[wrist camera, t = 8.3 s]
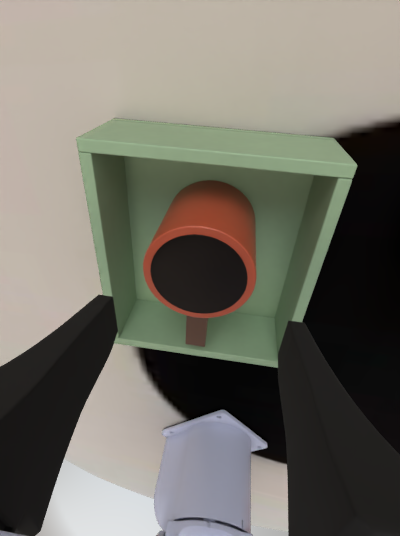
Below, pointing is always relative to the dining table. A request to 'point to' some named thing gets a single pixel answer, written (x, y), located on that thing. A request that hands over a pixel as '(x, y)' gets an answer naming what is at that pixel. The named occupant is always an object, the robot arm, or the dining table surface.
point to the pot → (203, 255)
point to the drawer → (266, 217)
